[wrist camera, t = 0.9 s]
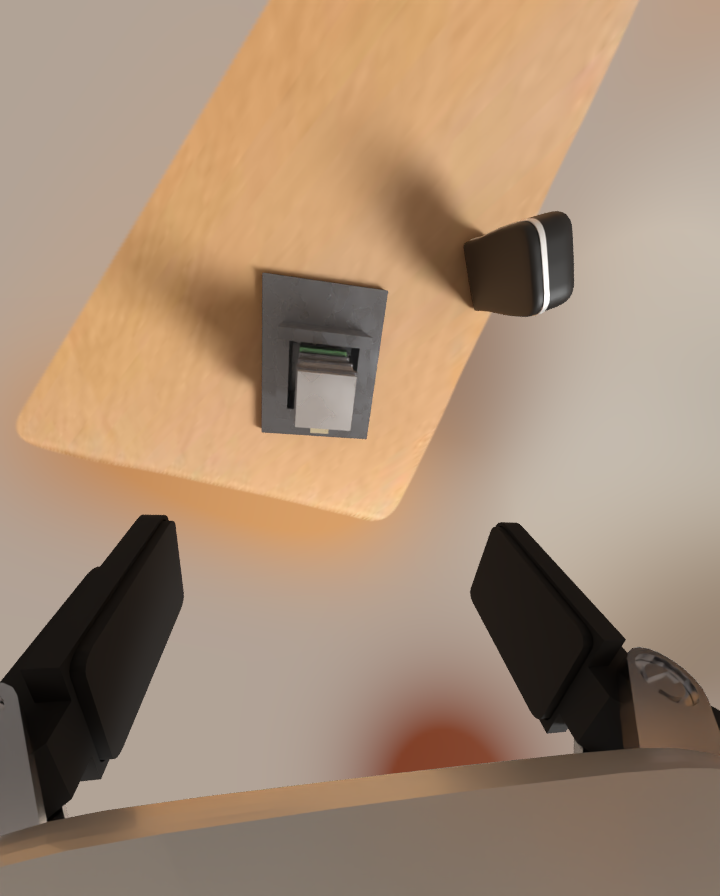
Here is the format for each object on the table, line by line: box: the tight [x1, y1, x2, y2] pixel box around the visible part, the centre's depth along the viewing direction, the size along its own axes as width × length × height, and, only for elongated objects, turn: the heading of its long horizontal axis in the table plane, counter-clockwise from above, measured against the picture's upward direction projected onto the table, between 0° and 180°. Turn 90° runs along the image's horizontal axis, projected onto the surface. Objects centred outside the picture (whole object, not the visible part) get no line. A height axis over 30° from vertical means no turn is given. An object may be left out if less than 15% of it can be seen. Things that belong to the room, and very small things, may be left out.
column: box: [293, 344, 358, 431], centre depth 29 cm, size 4×4×13 cm
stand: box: [262, 273, 388, 439], centre depth 32 cm, size 16×12×9 cm
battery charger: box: [464, 211, 574, 317], centre depth 29 cm, size 7×4×11 cm, turn 19°
